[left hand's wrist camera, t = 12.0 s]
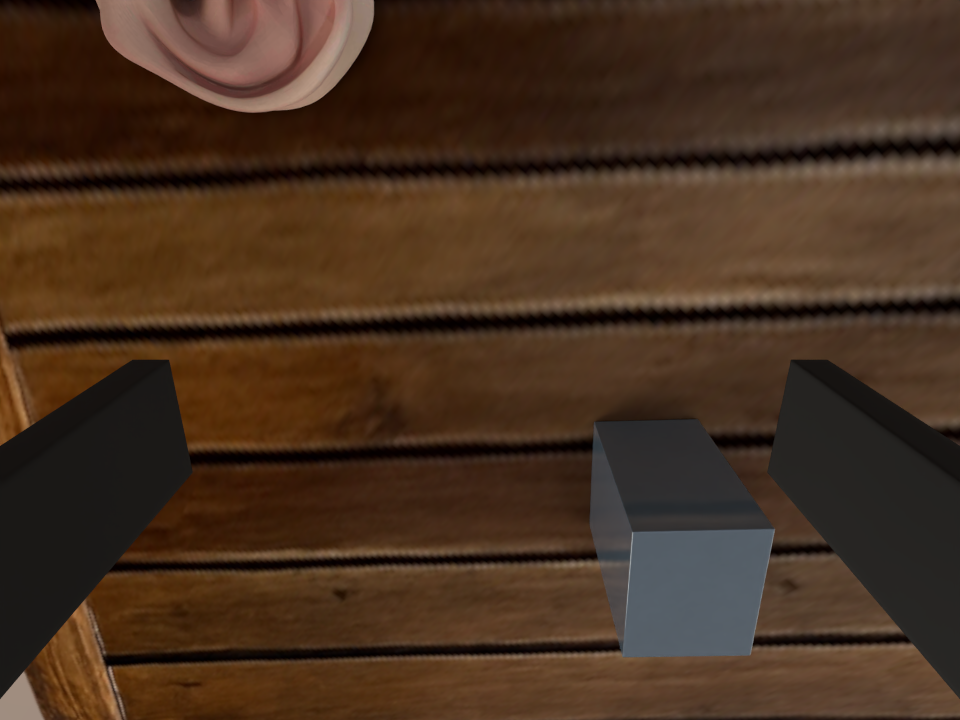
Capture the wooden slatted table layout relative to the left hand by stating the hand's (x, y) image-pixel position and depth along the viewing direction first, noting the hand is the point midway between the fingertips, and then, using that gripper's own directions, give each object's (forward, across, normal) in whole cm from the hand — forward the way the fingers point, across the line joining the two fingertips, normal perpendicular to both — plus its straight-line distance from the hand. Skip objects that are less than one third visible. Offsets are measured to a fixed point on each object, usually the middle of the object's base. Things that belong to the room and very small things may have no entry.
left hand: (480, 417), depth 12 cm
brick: (+20, +10, -14) cm, 27 cm away
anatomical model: (+20, -12, +12) cm, 26 cm away
